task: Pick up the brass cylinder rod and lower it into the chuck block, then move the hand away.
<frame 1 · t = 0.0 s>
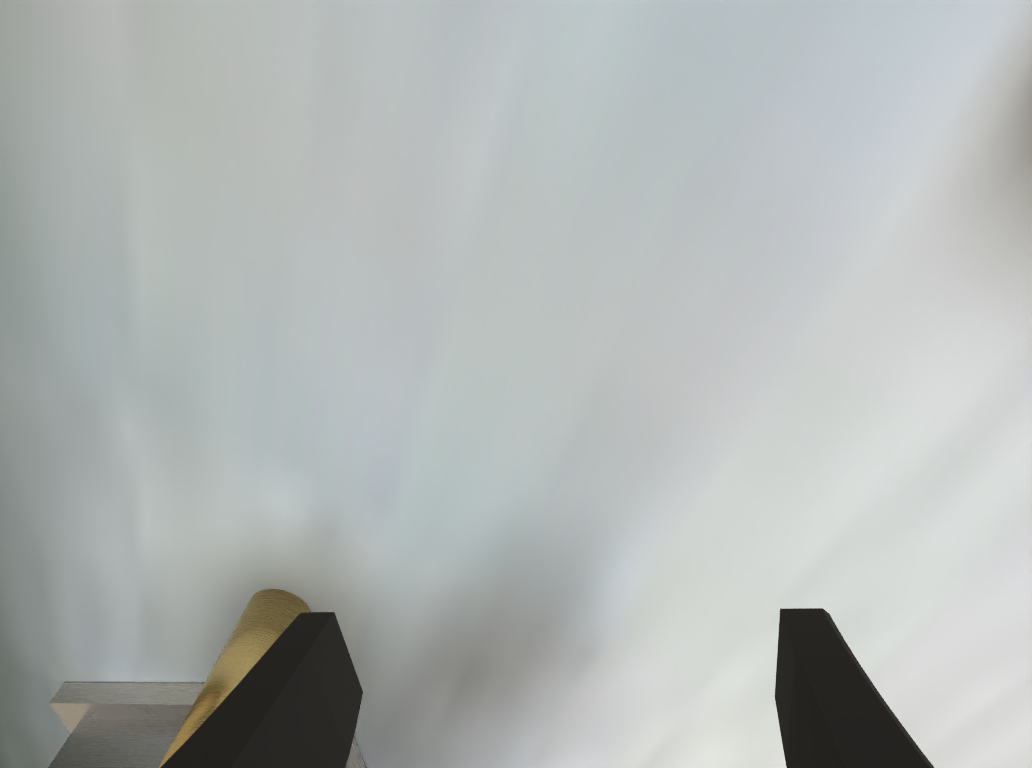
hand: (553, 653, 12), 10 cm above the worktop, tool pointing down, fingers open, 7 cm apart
brass cylinder rod: (280, 612, 28), on the worktop
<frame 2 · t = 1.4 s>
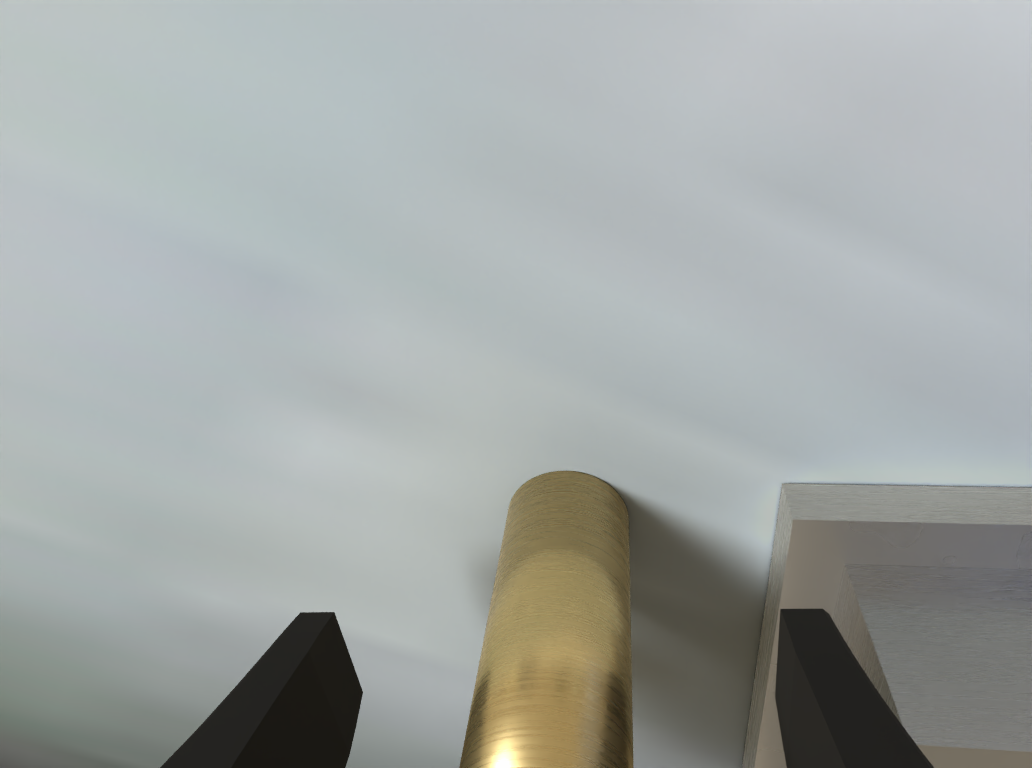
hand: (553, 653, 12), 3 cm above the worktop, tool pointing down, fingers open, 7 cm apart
brass cylinder rod: (567, 519, 15), on the worktop
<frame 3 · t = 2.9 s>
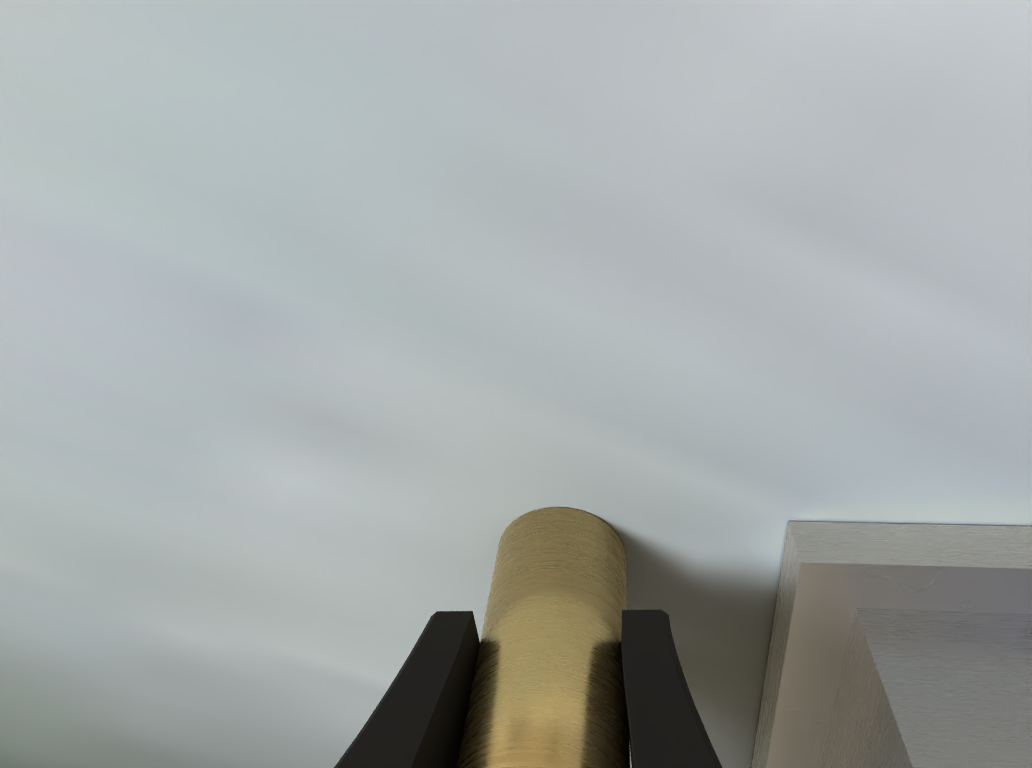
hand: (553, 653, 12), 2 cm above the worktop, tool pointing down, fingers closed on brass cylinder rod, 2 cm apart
brass cylinder rod: (561, 556, 14), on the worktop, touching gripper
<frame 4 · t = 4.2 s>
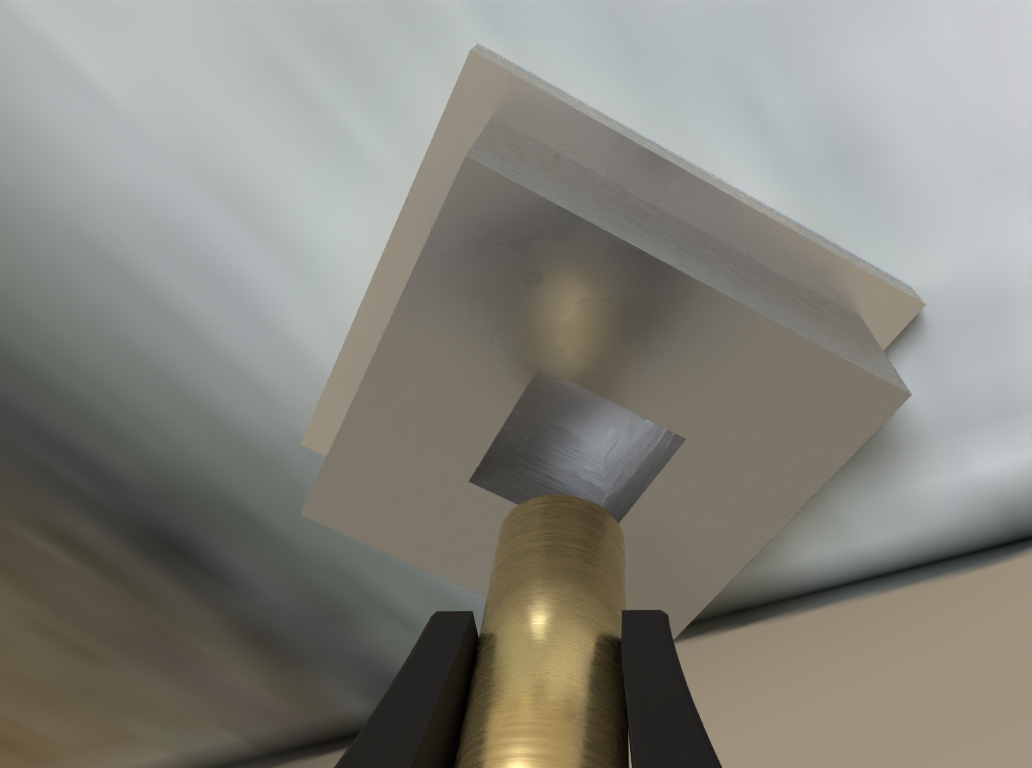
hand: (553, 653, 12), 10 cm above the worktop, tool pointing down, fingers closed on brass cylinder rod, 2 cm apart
brass cylinder rod: (561, 543, 14), point 7 cm above the worktop, touching gripper
chuck block: (580, 363, 21), on the worktop
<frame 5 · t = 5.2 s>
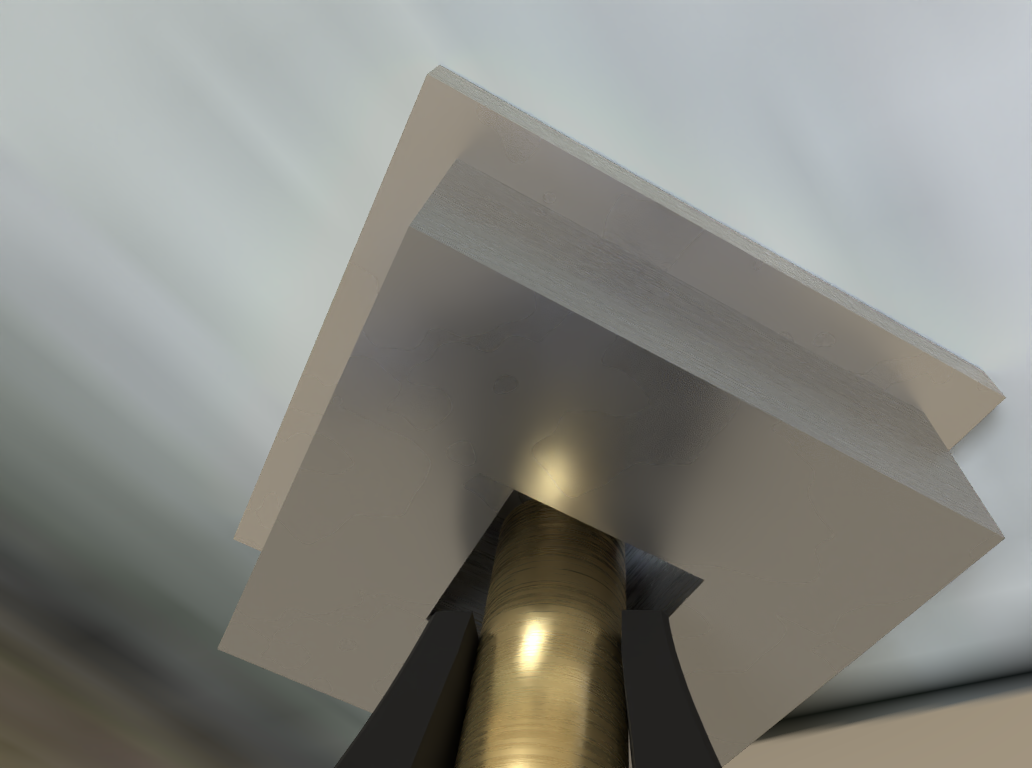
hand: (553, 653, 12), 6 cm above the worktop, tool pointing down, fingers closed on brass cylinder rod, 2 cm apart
brass cylinder rod: (561, 544, 14), point 3 cm above the worktop, touching gripper
chuck block: (571, 450, 17), on the worktop
when the fingers open (5 cm above the worktop, at t = 6.0 s): brass cylinder rod drops 2 cm, resting on chuck block.
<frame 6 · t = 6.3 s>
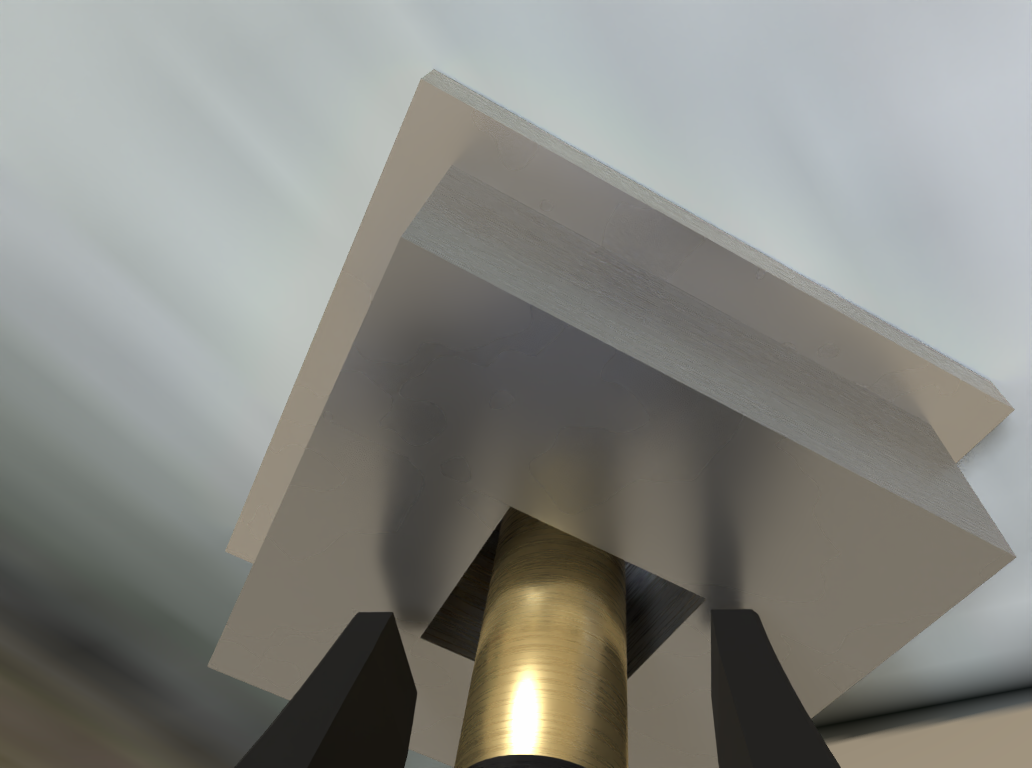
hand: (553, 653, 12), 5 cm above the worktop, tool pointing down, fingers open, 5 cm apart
brass cylinder rod: (566, 487, 16), point 1 cm above the worktop, touching chuck block
chuck block: (569, 461, 17), on the worktop
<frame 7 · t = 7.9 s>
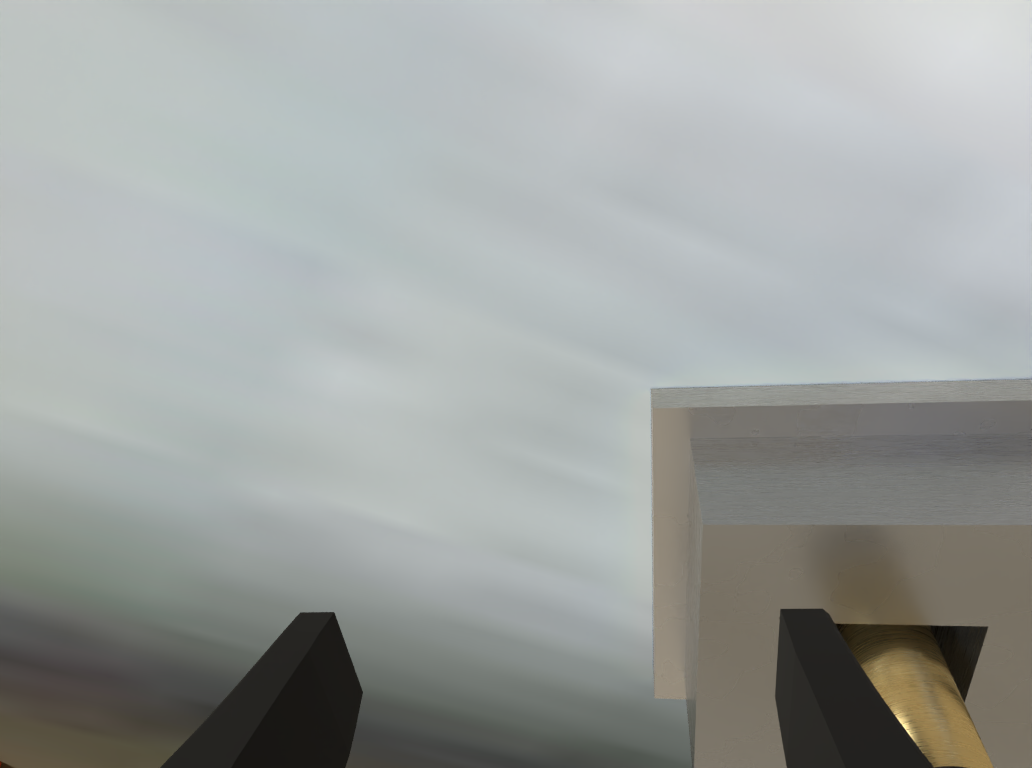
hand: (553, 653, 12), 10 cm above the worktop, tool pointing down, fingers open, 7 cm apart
brass cylinder rod: (858, 572, 22), point 1 cm above the worktop, touching chuck block
chuck block: (850, 550, 23), on the worktop
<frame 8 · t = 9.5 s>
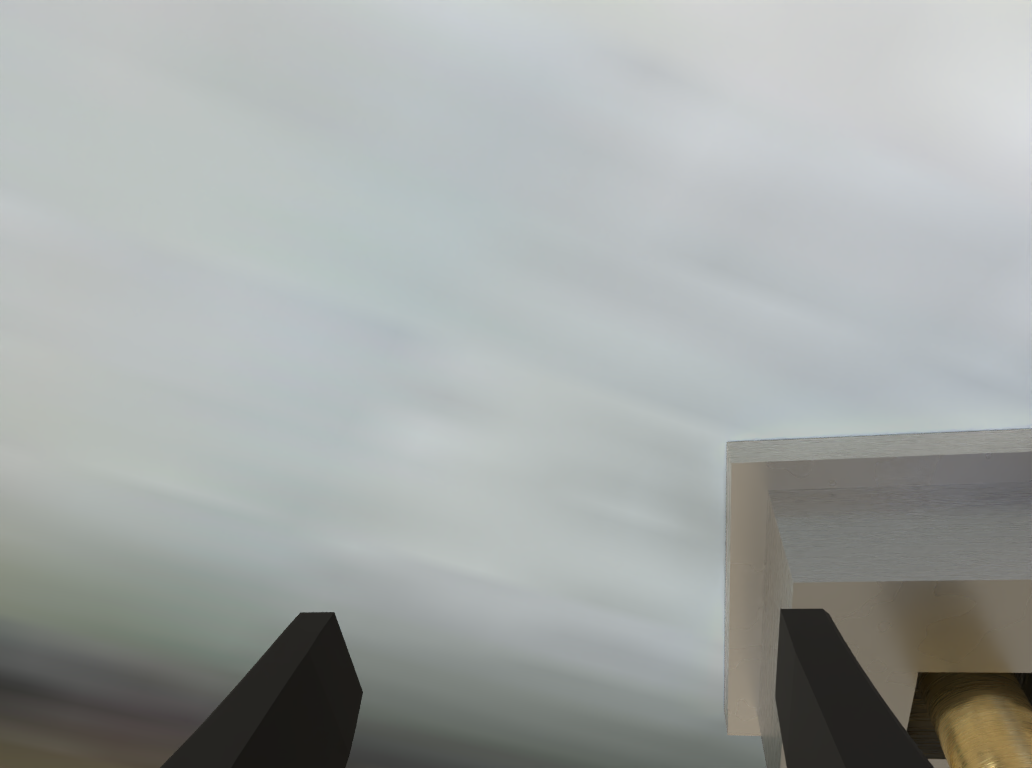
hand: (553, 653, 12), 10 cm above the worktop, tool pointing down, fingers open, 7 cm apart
brass cylinder rod: (932, 613, 23), point 1 cm above the worktop, touching chuck block
chuck block: (922, 590, 23), on the worktop
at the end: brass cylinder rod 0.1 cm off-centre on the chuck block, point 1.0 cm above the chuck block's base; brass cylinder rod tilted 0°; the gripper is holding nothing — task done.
